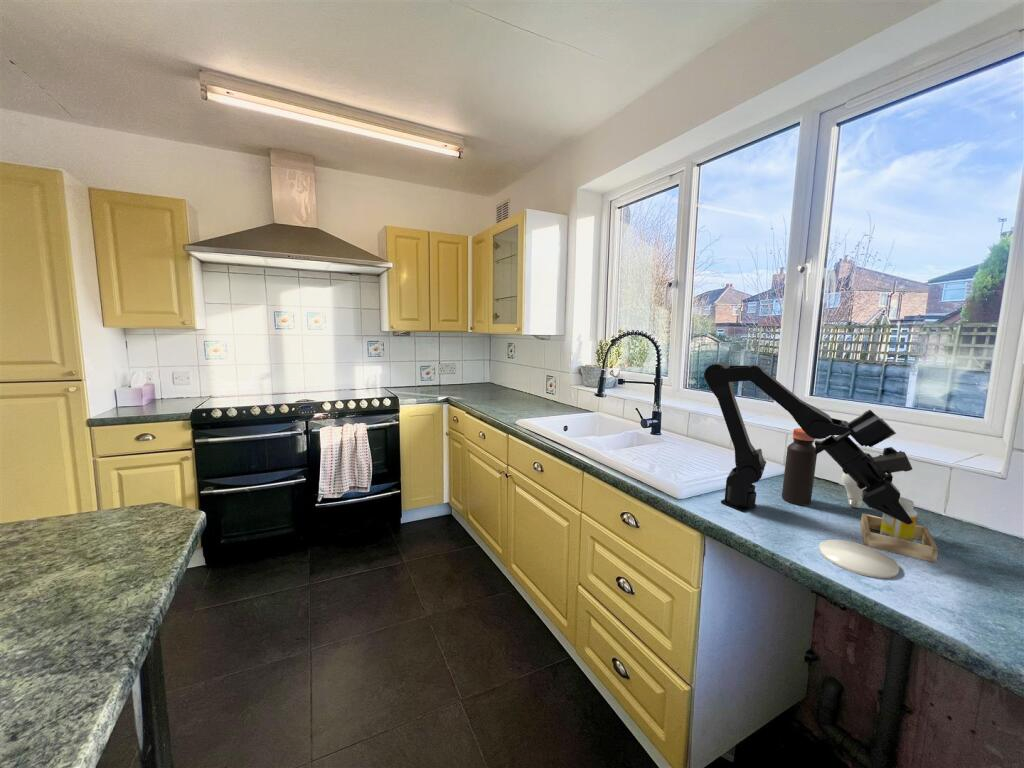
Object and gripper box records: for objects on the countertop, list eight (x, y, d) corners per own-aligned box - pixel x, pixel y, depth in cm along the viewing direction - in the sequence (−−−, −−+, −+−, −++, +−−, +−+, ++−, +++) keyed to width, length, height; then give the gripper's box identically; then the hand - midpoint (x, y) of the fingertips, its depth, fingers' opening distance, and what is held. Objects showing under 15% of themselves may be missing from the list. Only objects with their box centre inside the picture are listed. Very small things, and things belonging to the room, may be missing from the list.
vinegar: (810, 499, 119) (819, 429, 116) (811, 508, 113) (820, 435, 110) (781, 493, 122) (789, 426, 119) (781, 501, 117) (789, 431, 114)
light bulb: (872, 515, 109) (878, 474, 107) (839, 509, 113) (845, 469, 111) (867, 506, 115) (873, 467, 113) (836, 500, 118) (842, 462, 116)
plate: (807, 552, 91) (807, 549, 91) (836, 537, 98) (836, 534, 98) (882, 585, 80) (882, 581, 80) (909, 566, 87) (910, 562, 87)
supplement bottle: (913, 543, 96) (921, 500, 94) (909, 551, 92) (916, 507, 91) (881, 533, 100) (888, 492, 98) (876, 541, 97) (883, 498, 95)
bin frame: (864, 544, 95) (865, 532, 94) (860, 524, 104) (862, 513, 104) (935, 562, 88) (938, 549, 88) (925, 539, 97) (927, 527, 97)
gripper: (891, 448, 87) (958, 513, 83) (881, 430, 102) (938, 484, 98) (839, 476, 93) (898, 538, 88) (836, 455, 108) (887, 507, 103)
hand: (907, 515), depth 94 cm, fingers open, 9 cm apart
